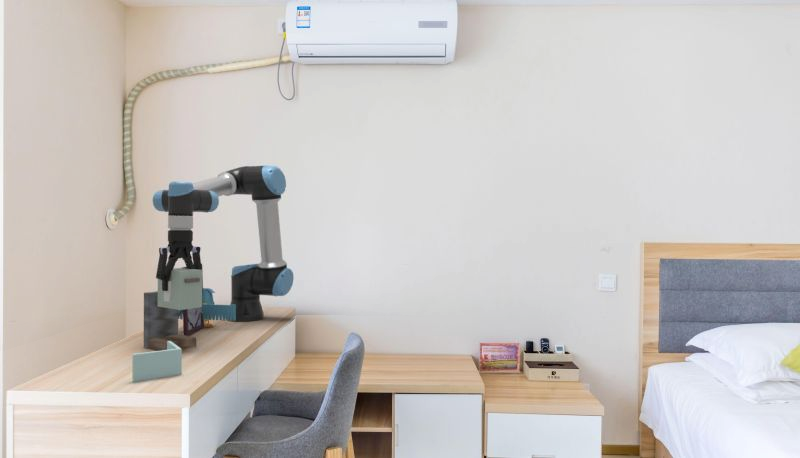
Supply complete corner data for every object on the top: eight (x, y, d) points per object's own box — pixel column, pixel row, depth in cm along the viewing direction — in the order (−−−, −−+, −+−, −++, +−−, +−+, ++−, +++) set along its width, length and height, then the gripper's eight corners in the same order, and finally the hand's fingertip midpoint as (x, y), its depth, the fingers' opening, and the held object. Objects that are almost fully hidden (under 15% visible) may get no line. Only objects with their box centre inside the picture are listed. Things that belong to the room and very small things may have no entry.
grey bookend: (173, 341, 190) (174, 289, 190) (196, 346, 183) (196, 292, 183) (143, 347, 181) (143, 292, 181) (166, 353, 174) (166, 296, 174)
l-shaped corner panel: (170, 366, 159) (170, 340, 159) (181, 376, 150) (181, 348, 150) (124, 373, 152) (124, 346, 152) (133, 383, 143) (133, 354, 142)
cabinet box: (179, 303, 186) (179, 267, 186) (203, 307, 179) (203, 270, 178) (157, 306, 179) (157, 269, 179) (181, 310, 172) (181, 271, 172)
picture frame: (186, 337, 198) (187, 267, 197) (159, 336, 198) (160, 267, 198) (204, 328, 214) (204, 263, 214) (179, 327, 215) (179, 263, 214)
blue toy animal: (243, 325, 220) (243, 287, 219) (235, 330, 211) (235, 290, 211) (175, 324, 222) (175, 286, 221) (164, 328, 213) (164, 289, 213)
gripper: (200, 229, 190) (200, 295, 190) (143, 229, 172) (142, 302, 172) (214, 229, 185) (214, 297, 186) (157, 229, 168) (156, 304, 168)
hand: (179, 299), depth 179 cm, fingers closed on cabinet box, 8 cm apart
